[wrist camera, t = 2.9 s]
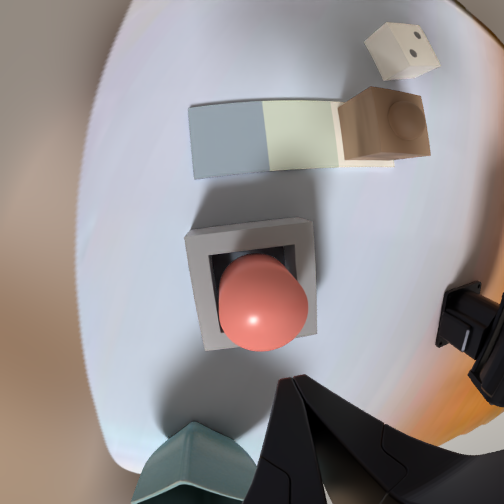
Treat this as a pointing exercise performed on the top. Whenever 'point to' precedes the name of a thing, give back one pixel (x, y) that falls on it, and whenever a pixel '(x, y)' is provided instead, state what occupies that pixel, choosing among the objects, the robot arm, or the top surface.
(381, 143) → the cube with dome knob
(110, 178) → the top surface
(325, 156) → the mat
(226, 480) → the flower pot
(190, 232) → the button housing
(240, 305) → the pink push button
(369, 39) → the die
